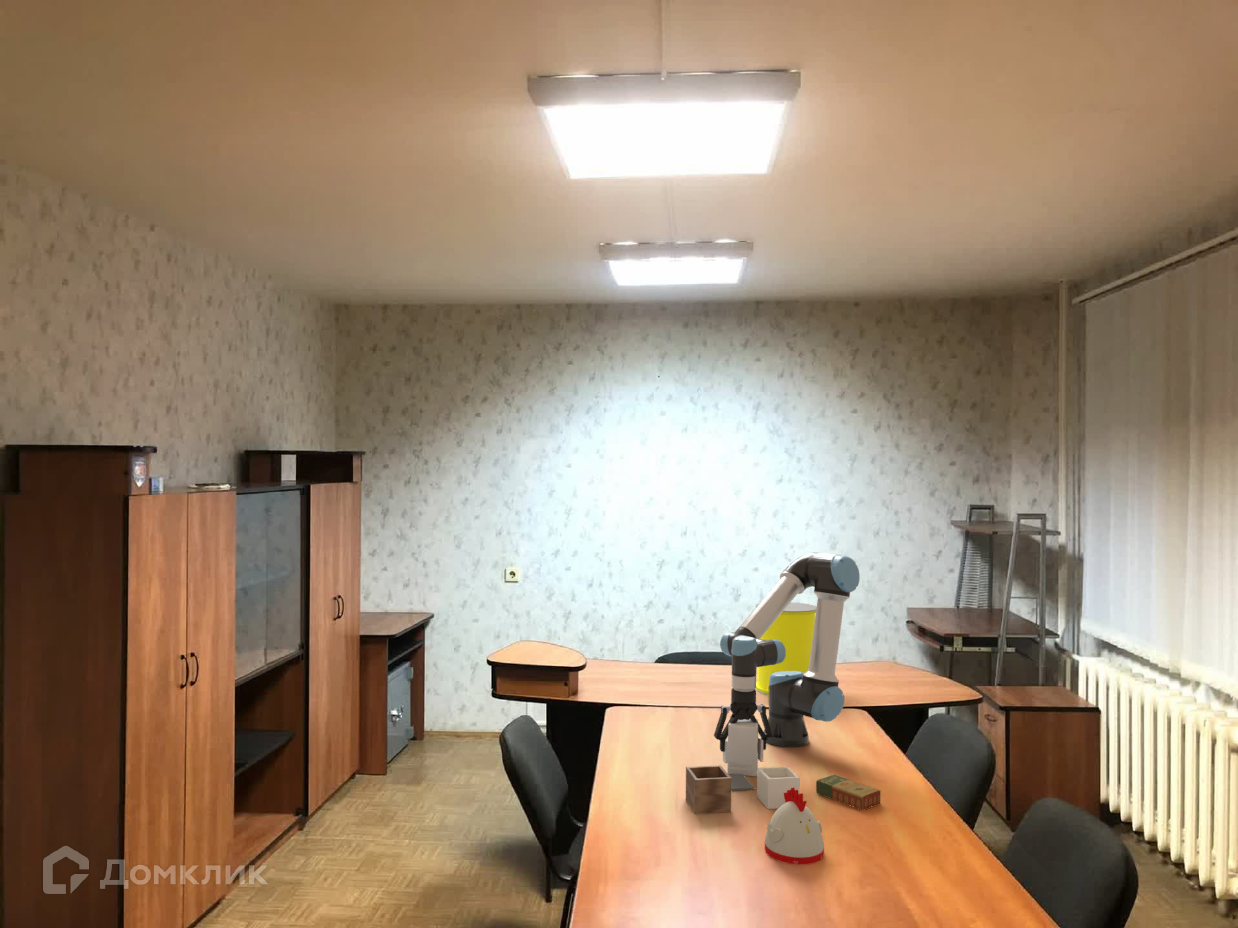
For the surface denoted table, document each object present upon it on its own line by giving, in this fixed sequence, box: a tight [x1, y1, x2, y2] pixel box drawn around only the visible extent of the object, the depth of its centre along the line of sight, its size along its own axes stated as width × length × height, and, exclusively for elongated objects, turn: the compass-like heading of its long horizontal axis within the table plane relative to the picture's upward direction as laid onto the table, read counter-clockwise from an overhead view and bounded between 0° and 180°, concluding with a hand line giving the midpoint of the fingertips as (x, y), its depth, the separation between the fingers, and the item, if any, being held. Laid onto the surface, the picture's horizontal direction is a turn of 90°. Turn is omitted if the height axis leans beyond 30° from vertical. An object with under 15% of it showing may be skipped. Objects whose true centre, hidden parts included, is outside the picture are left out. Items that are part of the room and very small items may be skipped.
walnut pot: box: [685, 764, 732, 815], centre depth 232 cm, size 10×10×9 cm
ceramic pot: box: [756, 766, 801, 810], centre depth 235 cm, size 9×9×8 cm
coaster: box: [728, 774, 756, 792], centre depth 248 cm, size 11×11×1 cm
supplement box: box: [727, 718, 759, 777], centre depth 259 cm, size 9×9×15 cm
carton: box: [815, 773, 882, 811], centre depth 238 cm, size 8×16×4 cm, turn 37°
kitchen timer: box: [764, 788, 825, 865], centre depth 204 cm, size 14×14×15 cm
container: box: [755, 601, 817, 696], centre depth 359 cm, size 26×26×35 cm
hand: (742, 761), depth 259 cm, fingers closed on supplement box, 10 cm apart
